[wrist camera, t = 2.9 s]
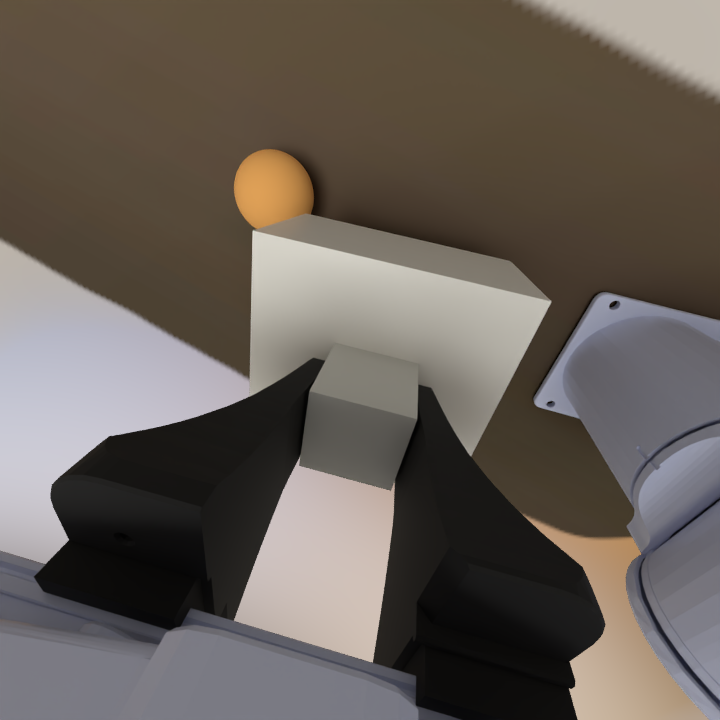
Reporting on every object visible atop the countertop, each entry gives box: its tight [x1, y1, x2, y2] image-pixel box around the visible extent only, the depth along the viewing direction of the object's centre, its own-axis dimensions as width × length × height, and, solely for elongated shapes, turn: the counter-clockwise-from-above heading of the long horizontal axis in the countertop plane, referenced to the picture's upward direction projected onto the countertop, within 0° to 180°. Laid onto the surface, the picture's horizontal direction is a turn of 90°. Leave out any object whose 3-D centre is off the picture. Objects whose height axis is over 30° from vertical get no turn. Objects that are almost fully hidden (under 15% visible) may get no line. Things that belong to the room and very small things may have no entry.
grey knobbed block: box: [250, 214, 552, 490], centre depth 13 cm, size 9×9×8 cm
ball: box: [234, 149, 314, 229], centre depth 17 cm, size 4×4×4 cm
